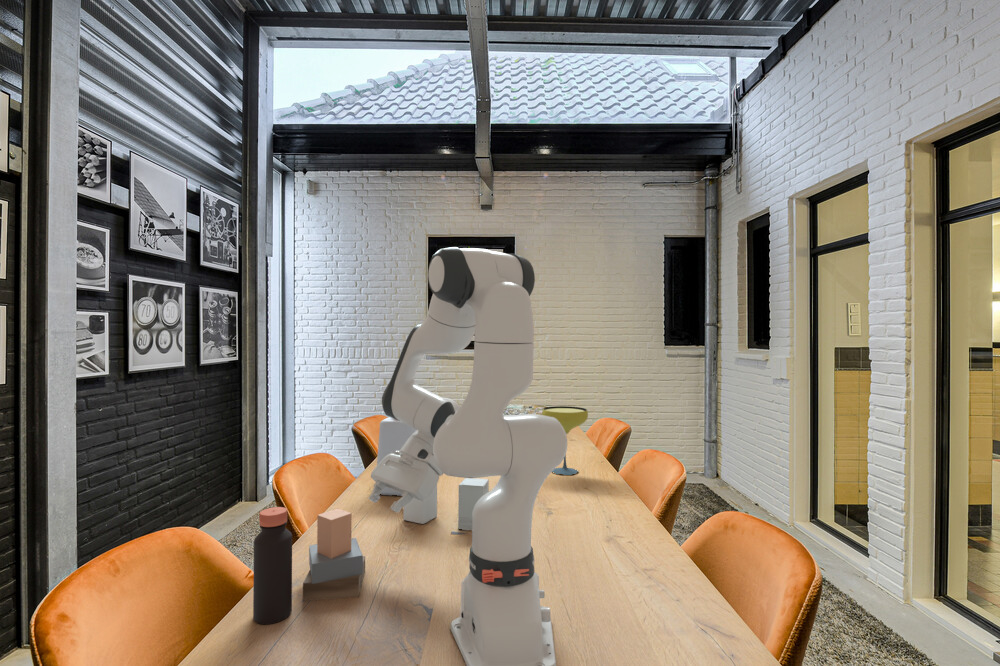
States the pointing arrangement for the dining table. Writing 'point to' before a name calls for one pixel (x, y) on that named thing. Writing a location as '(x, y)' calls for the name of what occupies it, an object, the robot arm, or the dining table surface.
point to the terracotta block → (334, 533)
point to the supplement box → (470, 499)
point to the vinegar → (272, 568)
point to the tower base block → (333, 587)
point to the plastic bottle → (392, 442)
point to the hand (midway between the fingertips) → (382, 505)
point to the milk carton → (421, 509)
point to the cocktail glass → (566, 426)
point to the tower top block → (335, 564)
